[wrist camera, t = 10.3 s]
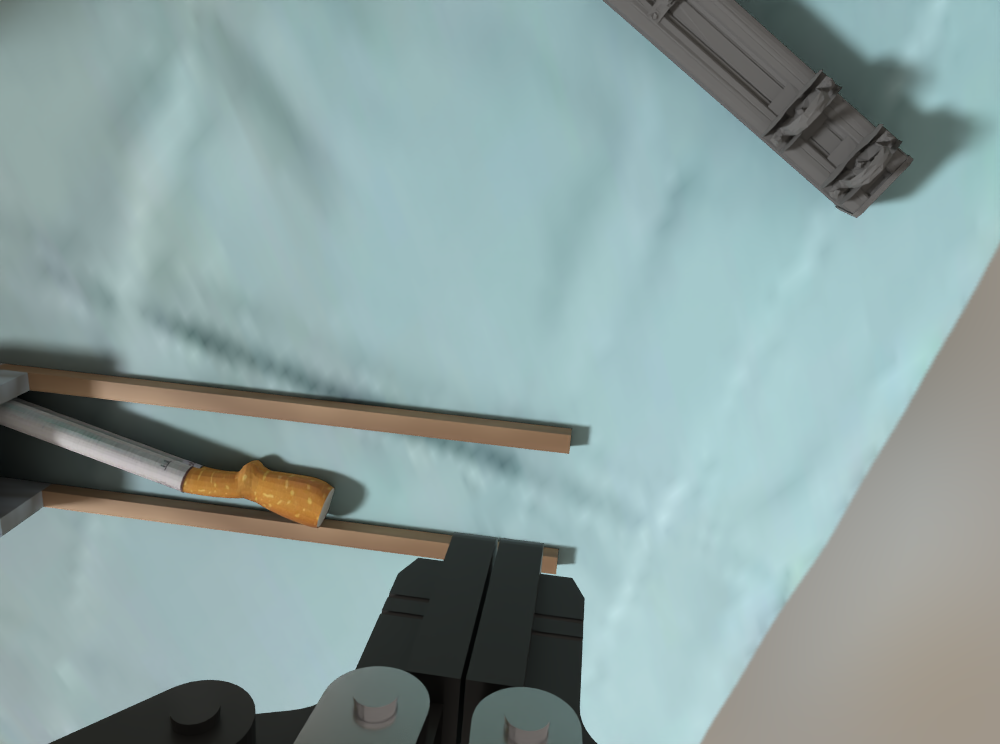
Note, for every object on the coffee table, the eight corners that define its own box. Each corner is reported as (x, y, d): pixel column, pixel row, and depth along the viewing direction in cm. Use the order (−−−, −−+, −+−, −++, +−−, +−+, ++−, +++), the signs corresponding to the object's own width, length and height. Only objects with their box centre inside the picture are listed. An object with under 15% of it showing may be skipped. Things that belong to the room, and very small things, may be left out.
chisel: (329, 486, 42) (308, 541, 42) (339, 483, 45) (320, 535, 45) (-10, 361, 43) (-33, 415, 42) (22, 367, 46) (1, 417, 45)
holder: (-67, 355, 45) (-151, 386, 40) (571, 428, 41) (567, 472, 36) (-47, 486, 47) (-122, 530, 42) (556, 565, 44) (550, 622, 39)
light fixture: (637, -76, 34) (642, -110, 29) (890, 155, 36) (939, 161, 31) (586, -10, 35) (583, -32, 30) (835, 213, 37) (873, 228, 32)
